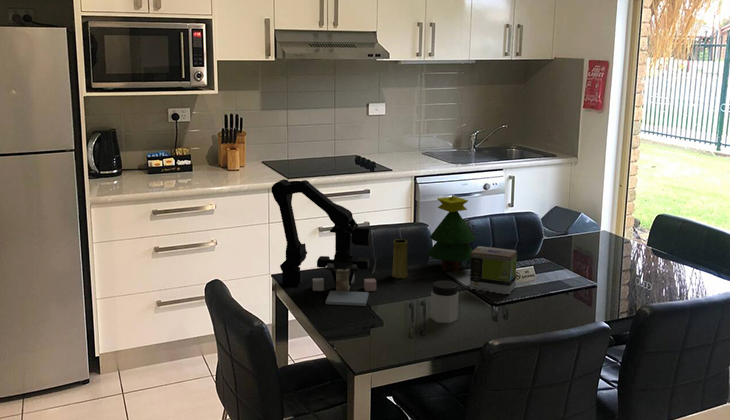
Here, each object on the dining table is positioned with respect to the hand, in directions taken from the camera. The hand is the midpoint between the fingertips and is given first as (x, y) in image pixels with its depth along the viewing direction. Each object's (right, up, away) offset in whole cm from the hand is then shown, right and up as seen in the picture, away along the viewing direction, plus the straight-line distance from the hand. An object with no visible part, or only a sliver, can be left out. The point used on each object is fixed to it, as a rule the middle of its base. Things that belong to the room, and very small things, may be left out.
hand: (343, 284), depth 272 cm
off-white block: (-9, -2, 0) cm, 9 cm away
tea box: (+55, -2, +2) cm, 55 cm away
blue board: (+2, -4, -11) cm, 12 cm away
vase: (+22, +2, +15) cm, 26 cm away
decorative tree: (+43, +4, +25) cm, 49 cm away
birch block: (0, -1, 0) cm, 2 cm away
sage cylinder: (+2, 0, +8) cm, 8 cm away
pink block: (+10, -2, 0) cm, 10 cm away
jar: (+34, -9, -27) cm, 45 cm away
